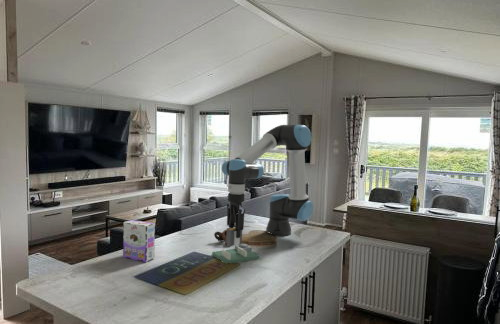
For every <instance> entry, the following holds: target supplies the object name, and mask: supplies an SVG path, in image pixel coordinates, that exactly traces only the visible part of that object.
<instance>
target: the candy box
mask: <svg viewBox="0 0 500 324" xmlns="http://www.w3.org/2000/svg"><path fill="white" fill-rule="evenodd" d="M122 231H123V232H122V255H123V256H122V258H126V259H129V260H133V261H138V262H143V263H147V262H150V261H152V260H155V238H156V237H155V236H156V235H155V231H156V223H153V222H145V221H140V220H135V219H131V220H126V221H124V222H122Z"/></svg>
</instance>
